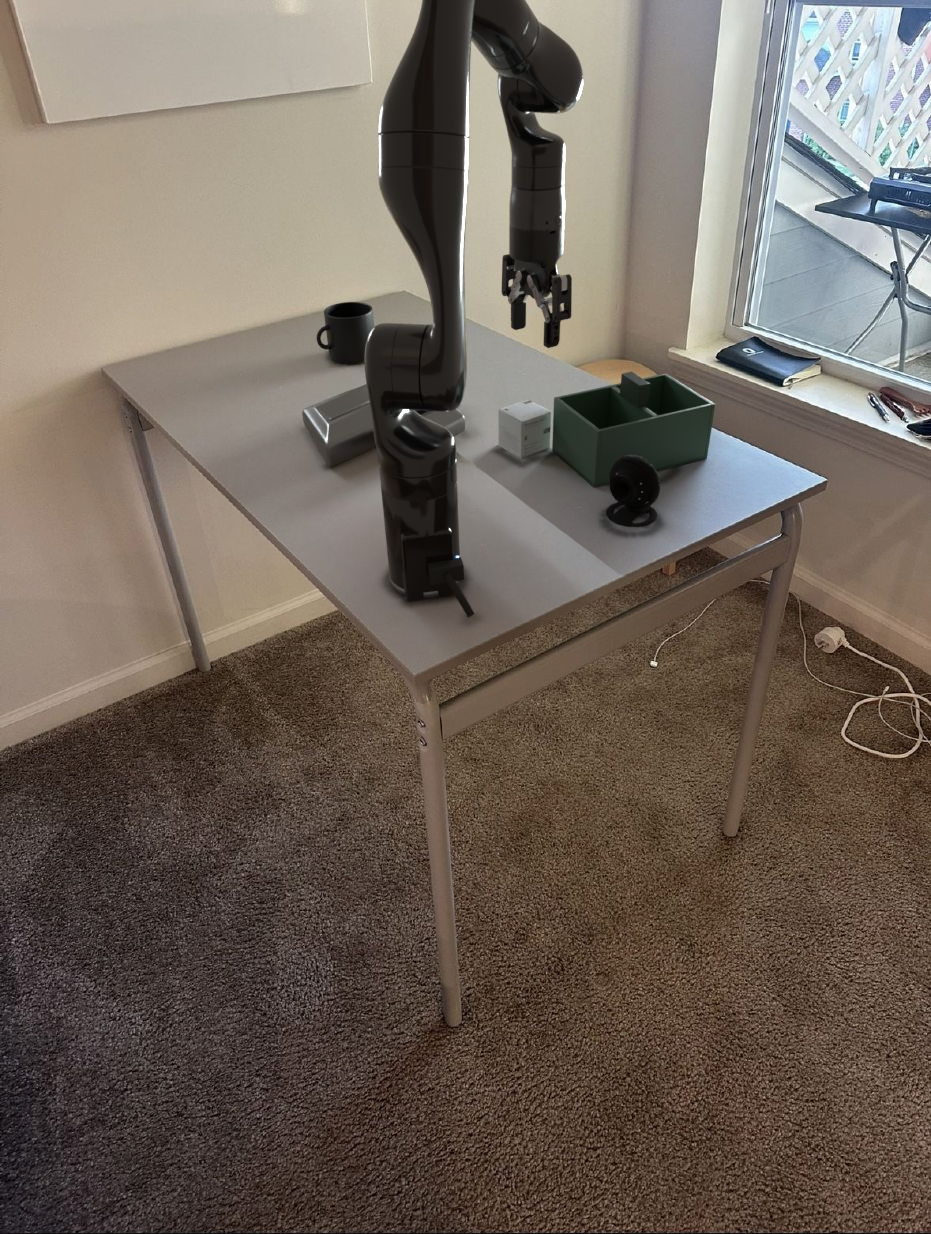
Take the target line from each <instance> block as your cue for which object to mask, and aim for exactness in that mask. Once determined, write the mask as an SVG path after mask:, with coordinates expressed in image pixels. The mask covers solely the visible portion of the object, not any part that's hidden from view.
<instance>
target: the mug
mask: <svg viewBox="0 0 931 1234" xmlns="http://www.w3.org/2000/svg"><path fill="white" fill-rule="evenodd" d="M323 316H324V324H325V325H323V326H322V327H321V328H319V329H318V331H317V333H316V343H317V345H318V346H319V347H320V349H322V350H326V351H328V356H329V358H330V359H331V360H332V361H333V362H336V363H340V364H348V365H349V364H350V365H351V364H359V363H365V346H366V342H367V338H368V335H369V333H370V331H371V330H372V328H373V327H374V326H375V321H374V320H375V318H374V308H373V306H372V305H370V304H369V303H365V302H361V301H345V302H339V303H338V302H337V303H334V304H331V305H329V306H327V307H326V308H325V309H324V310H323ZM324 332H325V333H326V334H325V335H326V341H327V344H324V343H323V342H322V335H323V333H324Z"/></svg>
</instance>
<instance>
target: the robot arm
mask: <svg viewBox="0 0 931 1234" xmlns="http://www.w3.org/2000/svg"><path fill="white" fill-rule="evenodd" d="M472 44H473V46H474V47H475V48H476V49H477V50H478V52H479V53H480V54H481V56H482V57H483V58H484V59H485V61H486V62H487V64H489V66H490V67H491V68H492V69H493V70H494V71H495V72H496V73H497V93H498V98H499V99H498V100H499V103H500V107H501V111H502V115H503V119H504V125H505V127H506V132H507V138H508V142H509V146H510V152H511V162H510V163H511V164H510V165H511V168H510V169H511V170H510V171H511V175H510V176H511V177H510V181H511V182H510V183H511V185H510V196H509V206H508V207H509V209H508V211H509V213H508V214H509V215H508V217H509V218H508V220H509V221H508V230H509V231H508V232H509V233H508V254H503V255H502V258H501V259H502V261H501V295H502V296H503V297H507V301H508V303H509V304H510V328H511V329H512V330H514V331H519V330H522V329H525V328H526V325H527V302H525V301H526V300H527V298H528V297H529V296H530V297H531V298H532V299H533V300H535V303H536V307H537V308H539V309H540V310H541V312H542V315H543V318H544V321H543V346H544V347H545V348H547V349H550V348H551V349H552V348H554V347H557V346H559V344H560V341H561V340H560V339H561V322H562V321H566V320H569V319H571V318H572V304H573V303H572V301H573V300H572V297H573V296H572V295H573V293H572V292H573V291H572V290H573V289H572V288H573V287H572V286H573V284H572V283H573V279H572V275H571V274H570V273H567V274H559V273H558V268H557V263H558V261H559V260H560V258H562V257H563V255H564V248H565V225H566V224H565V222H566V221H565V220H566V194H565V193H566V192H565V175H566V174H565V173H566V143H565V141H564V139H563V137H561V136H560V135H558V134H556V133H554V132H551V131H549V130H547V129H544V128H543V127H542V126H541V125H540V123H539V121H538V118H537V115H536V113H537V114H549V115H550V114H551V115H559V114H564V113H567V112H568V111H570V110H571V109H573V107H575V105H576V104H577V103H578V101H579V100H580V97H581V95H582V92H583V88H584V73H583V66H582V64H581V62H580V59H579V56H578V55H577V53H576V52H575V50H574V49H573V47H572V46H571V45H570V44H569V43H568V42H567V41H565V40H564V39H563V38H562V37H561V36H559V35H558V34H557V33H556V32H554V31H553V30H552V29H551V28H550V27H548V26H547V25H545V24H543V23H542V22H540V21H539V19H538V18H537V16H536V15H535V13H534V12H533V10H532V8H531V7H530V5H529V4H528V3H527V0H421V7H420V10H419V15H418V19H417V21H416V25H415V27H414V30H413V33H412V36H411V38H410V40H409V42H408V45H407V47H406V49H405V51H404V53H403V54H402V57H401V59H400V61H399V63H398V65H397V67H396V70H395V72H394V74H393V76H392V78H391V80H390V82H389V85H388V87H387V90H386V92H385V93H384V97H383V100H382V103H381V106H380V110H379V114H378V123H377V135H378V136H377V163H378V164H377V166H378V167H377V168H378V187H379V191H380V194H381V197H382V199H383V202H384V204H385V207H386V210H387V211H388V213H389V214H390V217H391V218H392V220H393V222H394V224H395V226H396V228H397V229H398V231H399V232H400V234H401V236H402V237H403V239H404V241H405V243H406V244H407V246H408V247H409V249H410V251H411V253H412V255H413V256H414V259H415V261H416V263H417V264H418V267H419V269H420V271H421V274H422V276H423V279H424V282H425V285H426V288H427V291H428V294H429V299H430V305H431V311H432V321H433V324H430V323H412V322H380V323H377V324H375V325H374V327H373V328H372V330H371V331H370V333H369V335H368V338H367V342H366V346H365V361H364V376H365V383H366V384H367V391H368V397H369V403H370V409H371V416H372V423H373V430H374V439H375V445H376V447H375V448H376V452H377V459H378V468H379V480H380V491H381V501H382V511H383V521H384V522H383V523H384V531H385V532H384V533H385V544H386V554H387V561H388V581H389V582H388V583H389V585H390V587H391V588H392V589H393V591H394V592H396V593H398V594H399V595H401V596H404V597H405V599H406V602H414V601H420V600H421V601H422V600H428V599H436V598H443V597H449V596H454V597H455V599H456V600H457V602H458V603H459V605H460V606H461V608H462V610H463V612H464V613H465V615H466V617H467V618H470V617H472V616H474V615H475V611H474V610H473V608H472V606H471V605H470V603H469V602H468V599H467V597H466V596H465V595H464V593H463V591H462V590H461V588H460V587H459V585H460V583H461V582H462V581H465V565H464V561H463V559H462V557H461V549H460V521H459V496H458V468H457V467H458V465H457V464H458V463H457V443H456V440H455V437H454V436H453V435H452V433H451V432H450V431H449V430H448V429H446V428H445V427H443V426H441V425H439V424H437V423H435V422H433V421H431V420H428V419H426V418H425V417H423V416H421V415H420V414H418V413H417V412H416V411H415V410H422V411H440V412H448V411H454V410H456V409H457V408H458V409H459V407H460V406H461V404H462V402H463V399H464V397H465V390H466V385H467V373H468V350H467V349H468V348H467V346H468V344H467V343H468V342H467V316H466V315H467V313H466V282H465V281H466V278H465V256H466V255H465V251H466V250H465V249H466V227H467V226H466V225H467V210H468V209H467V208H468V207H467V206H468V189H469V172H470V169H469V168H470V167H469V166H470V91H471V89H470V87H471V85H470V84H471V59H472V55H471V54H472ZM511 280H512V283H511V285H510V281H511ZM509 285H510V286H509ZM550 294H551V297H549V296H550ZM562 304H563V309H562V306H561V305H562ZM549 306H551V309H550V307H549ZM366 384H365V385H366Z"/></svg>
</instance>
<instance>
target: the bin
mask: <svg viewBox="0 0 931 1234" xmlns="http://www.w3.org/2000/svg"><path fill="white" fill-rule="evenodd" d="M620 377H621V378H620V383H614V384H610V385H606V386H601V387H597V388H592V389H587V390H582V391H578V392H574V393H568V394H564V395H560V396H555V397H553V412H552V413H553V414H552V415H553V419H552V440H551V441H552V445H551V446H552V447H551V451H552V453H553V454H555V455H556V456H557V457H558V458H559V459H561V460H562V461H563V462H564V463H565V464H566V465H567V466H569V468H571V470H573V471H574V472H575V473H577V475H579V476H580V477H581V478H582V479H584V480H585V482H587V483H588V484H589V485H590V486H591V487H593V488H598V487H603V486H607V485H610V471H611V468H612V466H613V464H614V463H615V462H616V461H617V460H618V459H619V458H620V457H622V456H625V455H637V456H641V457H643V458H644V459H646V460H647V461H648V462H649V463H650V464H652V465H653V466H654V468H655V470H656V471H657V472H662V471H665V470H669V469H672V468H675V467H680V466H684V465H688V464H692V463H696V462H700V461H703V460H707V459H708V454H709V449H710V448H709V447H710V443H711V442H710V441H711V435H712V429H713V422H714V417H715V415H714V414H715V410H716V409H715V408H716V403H714V402H713V401H711V400H709V399H708V398H706V397H704V396H703V395H701V394H700V393H698V392H696V391H694V389H691V388H690V387H688V386H687V385H685V384H683V383H682V382H680V381H679V380H677V379H676V378H674V377H672V376H670V375H669V374H667V373H666V372H665V373H661V374H656V375H652V376H651V375H650V376H647V377H641V376H639V375H638V374H637V373H635V372H633V371H627V372H623V373H621V376H620Z"/></svg>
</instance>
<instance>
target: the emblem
mask: <svg viewBox="0 0 931 1234" xmlns="http://www.w3.org/2000/svg"><path fill="white" fill-rule="evenodd" d="M415 411H416V412H417V413H418V414H420V415H421V416H423V417H425V418H426V419H428V420H431V421H433V422H435V423H437V424H439V425H441V426H443V427H445V428H446V429H448V430H449V431H450V432H451V433H452V435H453V436H456V435H458V434H461V433H463V432H465V431H466V418H465V415H464V414H463V413H462V411H461V410H460V409H459V407H458V408H457V409H456V410H454V411H448V412H440V411H422V410H415ZM301 414H302V422H303V425H304V427H305V429H306V431H307V433H308V434H309V435H310V438H311V439H312V441H313V442H314V444H315V446H316V447H317V449H318V451H319V453H320V454H321V456H322V458H323V460H324V461H325V463H326V464H327V466H328V467H329V468H333V467H336V466H337V465H340V464H341V463H342V464H343V463H345V462H346V461H348V460H350V459H352V458H353V459H354V458H355V457H357V456H359V455H361V454H363V453H366V452H368V451H370V450H372V449H374V448H376V445H375V439H374V430H373V423H372V416H371V409H370V403H369V397H368V391H367V384H363V385H361V386H359V387H355V388H352V389H349V390H347V391H343V392H342V393H339V394H336V395H333V396H331V397H329V398H326V399H324V400H322V401H319V402H317V403H314V404H312V405H309V406H307V407H305V408H303V409H302V412H301Z"/></svg>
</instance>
